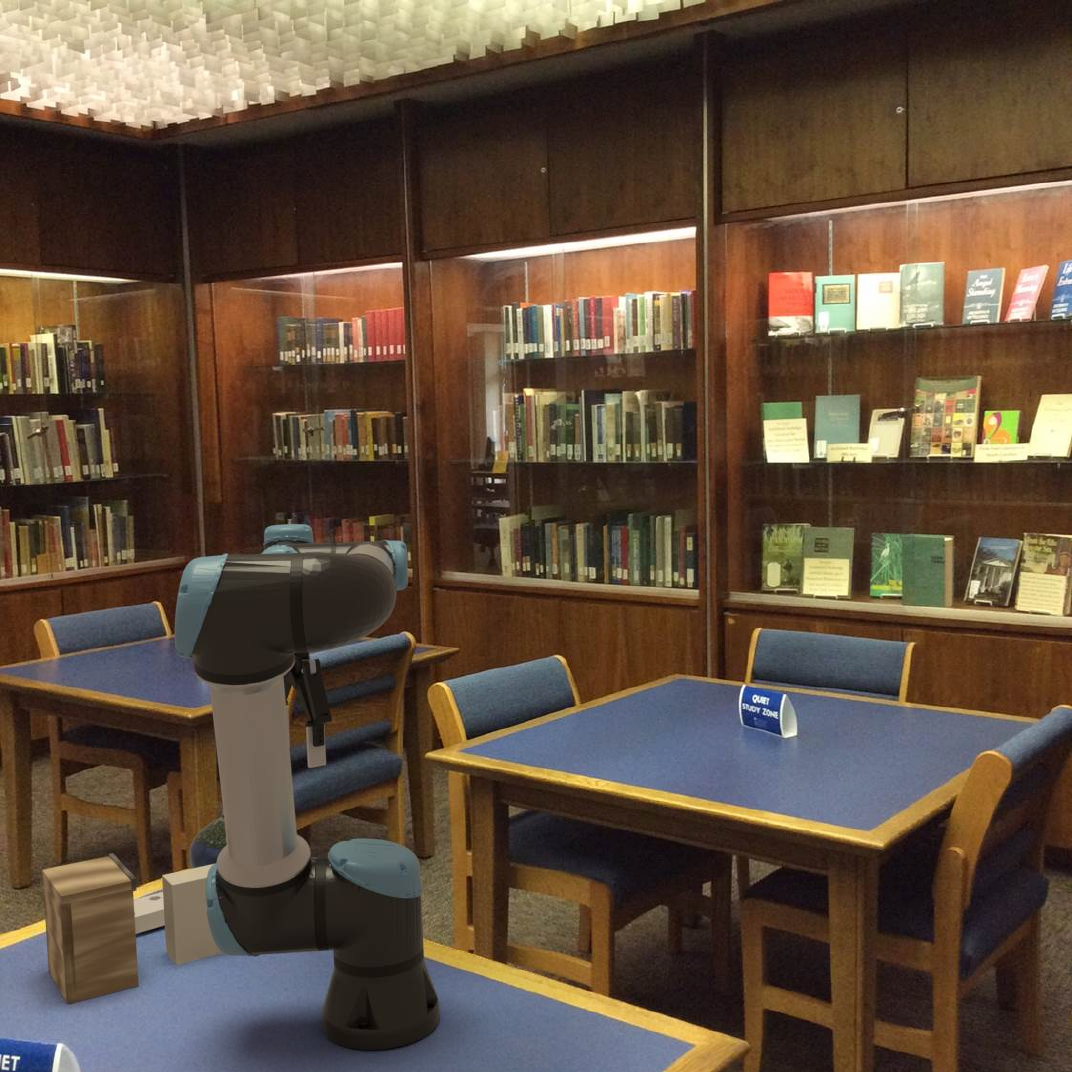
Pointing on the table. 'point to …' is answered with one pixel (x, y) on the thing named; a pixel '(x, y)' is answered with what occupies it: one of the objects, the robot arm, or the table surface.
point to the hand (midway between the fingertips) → (298, 757)
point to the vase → (208, 844)
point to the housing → (90, 927)
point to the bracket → (149, 912)
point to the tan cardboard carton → (187, 916)
